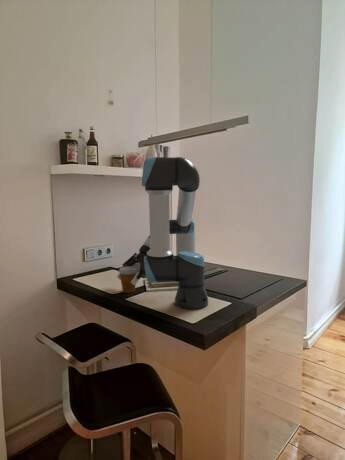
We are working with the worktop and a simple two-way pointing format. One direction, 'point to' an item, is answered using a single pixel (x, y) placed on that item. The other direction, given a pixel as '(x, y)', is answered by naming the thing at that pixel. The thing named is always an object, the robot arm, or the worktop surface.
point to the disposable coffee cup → (127, 278)
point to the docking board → (160, 286)
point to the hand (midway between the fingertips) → (125, 281)
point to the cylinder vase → (185, 242)
